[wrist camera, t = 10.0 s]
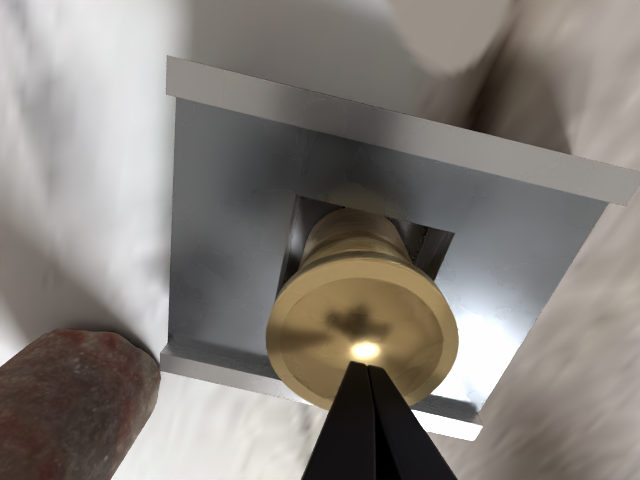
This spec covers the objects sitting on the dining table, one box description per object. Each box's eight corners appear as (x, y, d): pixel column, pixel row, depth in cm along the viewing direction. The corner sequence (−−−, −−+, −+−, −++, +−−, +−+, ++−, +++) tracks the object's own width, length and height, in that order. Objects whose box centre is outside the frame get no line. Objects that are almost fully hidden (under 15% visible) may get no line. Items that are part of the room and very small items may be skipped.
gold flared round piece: (429, 213, 13) (492, 290, 7) (391, 313, 15) (419, 431, 9) (308, 185, 13) (283, 241, 7) (287, 289, 15) (253, 393, 9)
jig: (573, 158, 12) (646, 173, 9) (451, 383, 16) (473, 441, 14) (211, 69, 11) (166, 55, 9) (192, 324, 16) (159, 370, 13)
